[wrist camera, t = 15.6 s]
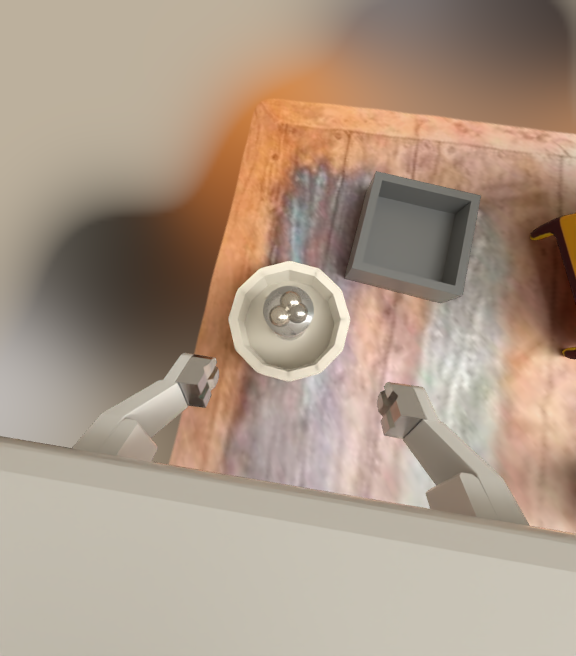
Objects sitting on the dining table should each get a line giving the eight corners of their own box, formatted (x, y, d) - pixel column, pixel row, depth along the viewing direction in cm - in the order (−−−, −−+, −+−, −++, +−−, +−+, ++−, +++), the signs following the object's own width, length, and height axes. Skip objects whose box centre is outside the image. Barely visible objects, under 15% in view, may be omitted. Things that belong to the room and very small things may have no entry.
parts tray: (440, 303, 28) (462, 296, 24) (344, 278, 28) (351, 268, 25) (458, 214, 29) (480, 195, 25) (366, 192, 29) (376, 171, 26)
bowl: (325, 387, 26) (332, 394, 22) (227, 359, 27) (215, 361, 23) (349, 290, 28) (360, 279, 23) (255, 266, 28) (249, 250, 24)
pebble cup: (301, 344, 26) (307, 340, 17) (267, 335, 26) (255, 326, 17) (310, 310, 27) (320, 289, 18) (276, 301, 27) (270, 276, 18)
